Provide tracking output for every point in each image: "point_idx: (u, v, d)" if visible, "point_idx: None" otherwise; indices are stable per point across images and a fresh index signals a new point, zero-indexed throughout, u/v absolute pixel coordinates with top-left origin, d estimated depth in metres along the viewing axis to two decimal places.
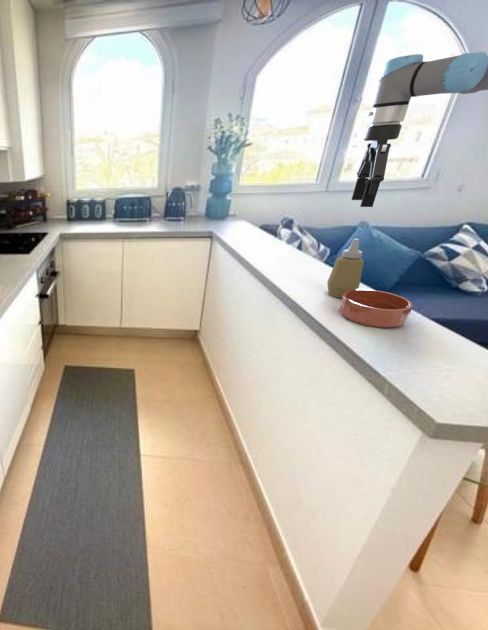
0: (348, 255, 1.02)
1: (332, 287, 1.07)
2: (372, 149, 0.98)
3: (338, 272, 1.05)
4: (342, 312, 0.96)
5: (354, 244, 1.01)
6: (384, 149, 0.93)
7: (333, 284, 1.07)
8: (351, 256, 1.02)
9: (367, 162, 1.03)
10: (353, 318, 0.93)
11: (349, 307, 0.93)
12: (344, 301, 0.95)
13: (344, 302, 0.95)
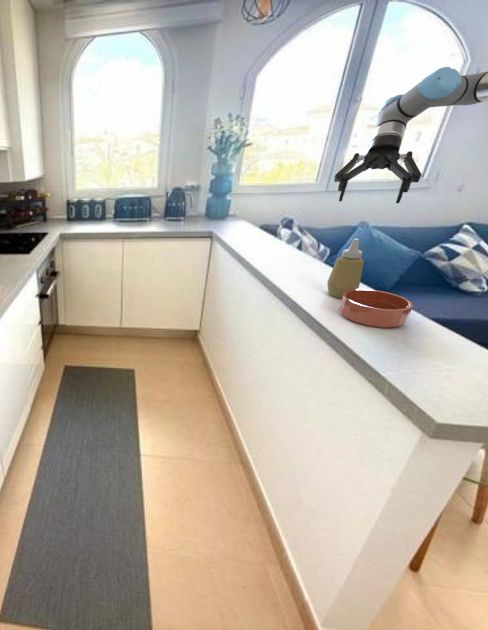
0: (348, 255, 1.02)
1: (332, 287, 1.07)
2: None
3: (338, 272, 1.05)
4: (342, 312, 0.96)
5: (354, 244, 1.01)
6: (353, 159, 1.10)
7: (333, 284, 1.07)
8: (351, 256, 1.02)
9: (392, 170, 1.04)
10: (353, 318, 0.93)
11: (349, 307, 0.93)
12: (344, 301, 0.95)
13: (344, 302, 0.95)
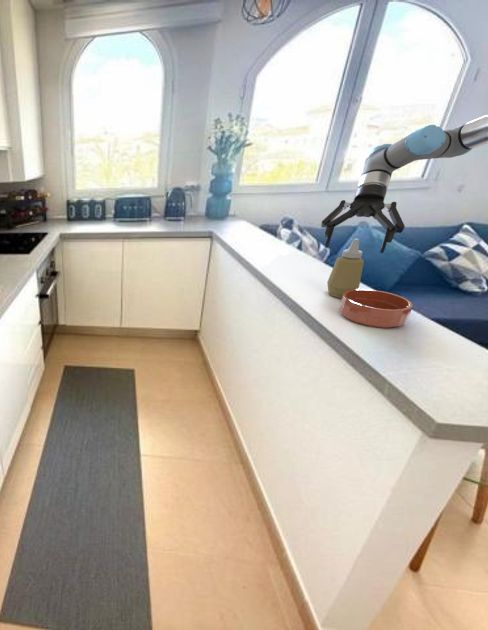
0: (348, 255, 1.02)
1: (332, 287, 1.07)
2: None
3: (338, 272, 1.05)
4: (342, 312, 0.96)
5: (354, 244, 1.01)
6: None
7: (333, 284, 1.07)
8: (351, 256, 1.02)
9: (377, 219, 1.07)
10: (353, 318, 0.93)
11: (349, 307, 0.93)
12: (344, 301, 0.95)
13: (344, 302, 0.95)
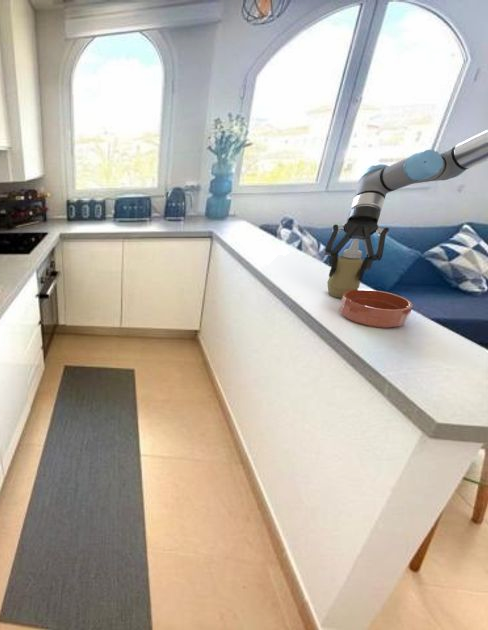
0: (348, 255, 1.02)
1: (332, 287, 1.07)
2: None
3: (338, 272, 1.05)
4: (342, 312, 0.96)
5: (354, 244, 1.01)
6: (333, 230, 1.10)
7: (333, 284, 1.07)
8: (351, 256, 1.02)
9: (364, 242, 1.05)
10: (353, 318, 0.93)
11: (349, 307, 0.93)
12: (344, 301, 0.95)
13: (344, 302, 0.95)
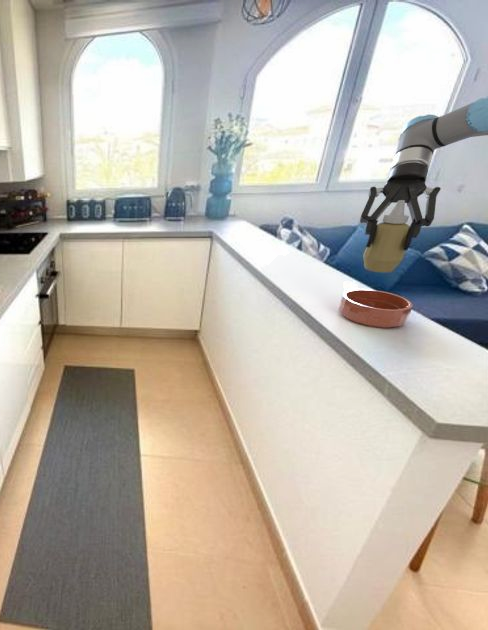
0: (391, 220, 0.86)
1: (370, 260, 0.90)
2: None
3: (377, 241, 0.88)
4: (342, 312, 0.96)
5: (398, 207, 0.85)
6: (369, 193, 0.93)
7: (371, 255, 0.90)
8: (395, 221, 0.85)
9: (409, 206, 0.88)
10: (353, 318, 0.93)
11: (349, 307, 0.93)
12: (344, 301, 0.95)
13: (344, 302, 0.95)
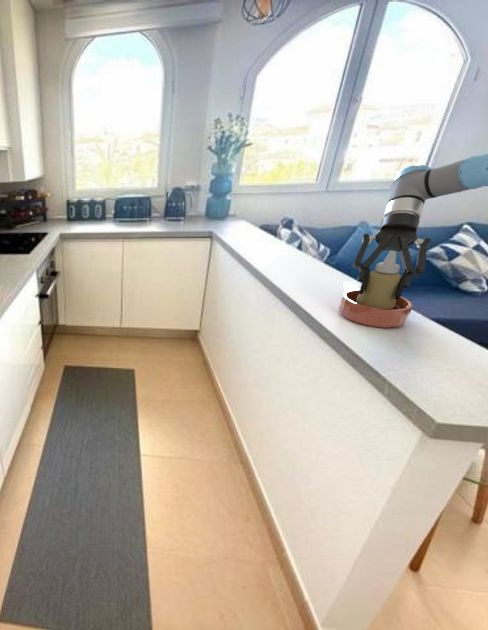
0: (383, 270, 0.88)
1: None
2: None
3: (370, 289, 0.91)
4: (342, 312, 0.96)
5: (390, 257, 0.87)
6: (363, 240, 0.96)
7: (364, 302, 0.92)
8: (387, 271, 0.88)
9: (400, 255, 0.91)
10: (353, 318, 0.93)
11: (349, 307, 0.93)
12: (344, 301, 0.95)
13: (344, 302, 0.95)
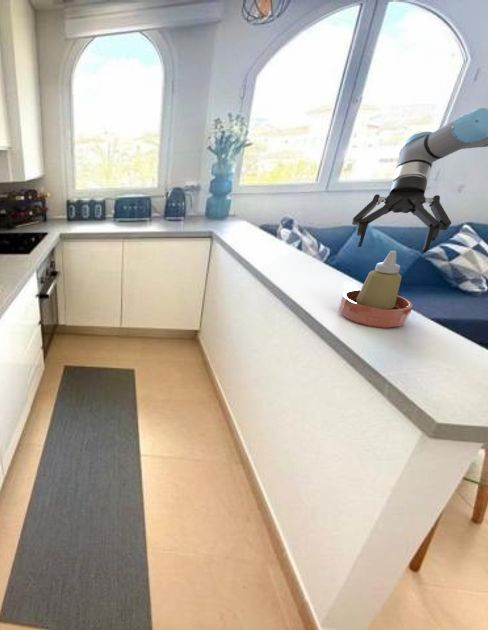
0: (383, 270, 0.88)
1: None
2: None
3: (370, 289, 0.91)
4: (342, 312, 0.96)
5: (390, 257, 0.87)
6: (372, 200, 1.01)
7: (364, 302, 0.92)
8: (387, 271, 0.88)
9: (417, 214, 0.95)
10: (353, 318, 0.93)
11: (349, 307, 0.93)
12: (344, 301, 0.95)
13: (344, 302, 0.95)
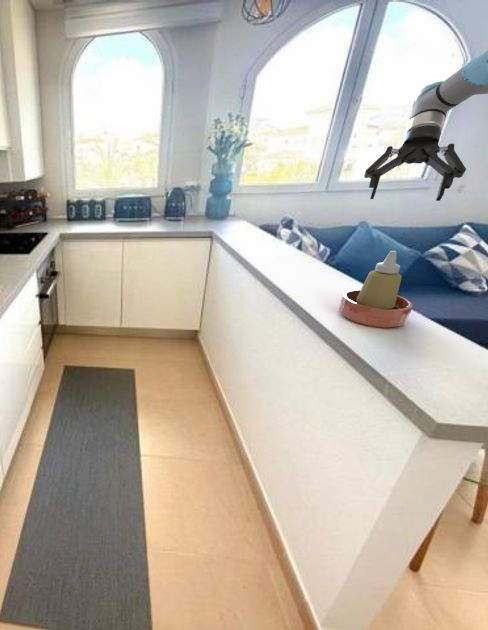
0: (383, 270, 0.88)
1: None
2: None
3: (370, 289, 0.91)
4: (342, 312, 0.96)
5: (390, 257, 0.87)
6: None
7: (364, 302, 0.92)
8: (387, 271, 0.88)
9: (430, 164, 0.94)
10: (353, 318, 0.93)
11: (349, 307, 0.93)
12: (344, 301, 0.95)
13: (344, 302, 0.95)
